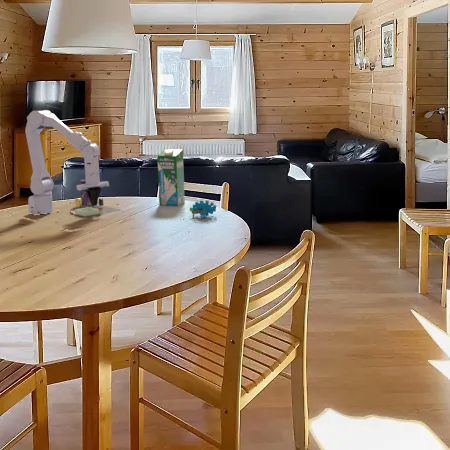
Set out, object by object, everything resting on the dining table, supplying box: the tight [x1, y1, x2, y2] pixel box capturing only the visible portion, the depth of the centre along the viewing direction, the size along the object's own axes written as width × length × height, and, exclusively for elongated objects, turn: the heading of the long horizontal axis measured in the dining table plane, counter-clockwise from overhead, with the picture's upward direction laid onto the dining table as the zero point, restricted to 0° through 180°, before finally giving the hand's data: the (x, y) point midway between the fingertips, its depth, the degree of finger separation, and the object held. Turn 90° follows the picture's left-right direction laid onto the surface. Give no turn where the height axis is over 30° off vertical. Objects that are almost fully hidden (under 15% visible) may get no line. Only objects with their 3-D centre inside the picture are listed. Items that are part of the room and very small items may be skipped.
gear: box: [189, 200, 217, 220], centre depth 251 cm, size 11×6×10 cm
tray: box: [74, 207, 99, 218], centre depth 257 cm, size 7×7×2 cm
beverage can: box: [79, 178, 95, 207], centre depth 280 cm, size 7×7×12 cm
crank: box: [87, 198, 105, 208], centre depth 262 cm, size 10×3×4 cm, turn 45°
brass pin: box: [74, 197, 83, 210], centre depth 264 cm, size 3×3×6 cm
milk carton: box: [157, 148, 186, 207], centre depth 279 cm, size 9×9×25 cm
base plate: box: [85, 200, 123, 218], centre depth 265 cm, size 19×17×4 cm
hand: (94, 205), depth 257 cm, fingers closed
